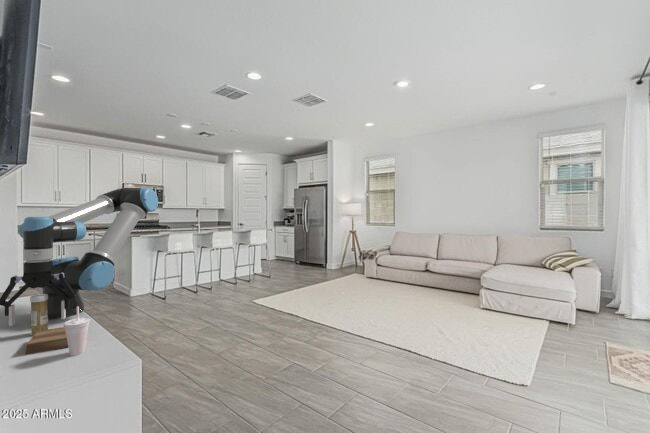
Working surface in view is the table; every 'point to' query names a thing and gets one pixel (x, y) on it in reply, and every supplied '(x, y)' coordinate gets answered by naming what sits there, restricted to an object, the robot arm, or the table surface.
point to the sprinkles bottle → (39, 313)
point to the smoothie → (77, 334)
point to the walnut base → (47, 340)
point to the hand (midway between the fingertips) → (38, 321)
